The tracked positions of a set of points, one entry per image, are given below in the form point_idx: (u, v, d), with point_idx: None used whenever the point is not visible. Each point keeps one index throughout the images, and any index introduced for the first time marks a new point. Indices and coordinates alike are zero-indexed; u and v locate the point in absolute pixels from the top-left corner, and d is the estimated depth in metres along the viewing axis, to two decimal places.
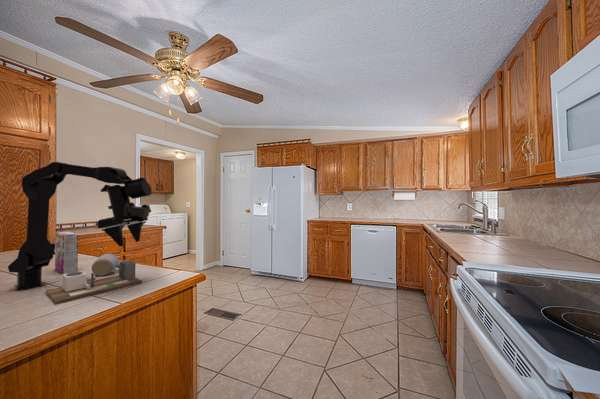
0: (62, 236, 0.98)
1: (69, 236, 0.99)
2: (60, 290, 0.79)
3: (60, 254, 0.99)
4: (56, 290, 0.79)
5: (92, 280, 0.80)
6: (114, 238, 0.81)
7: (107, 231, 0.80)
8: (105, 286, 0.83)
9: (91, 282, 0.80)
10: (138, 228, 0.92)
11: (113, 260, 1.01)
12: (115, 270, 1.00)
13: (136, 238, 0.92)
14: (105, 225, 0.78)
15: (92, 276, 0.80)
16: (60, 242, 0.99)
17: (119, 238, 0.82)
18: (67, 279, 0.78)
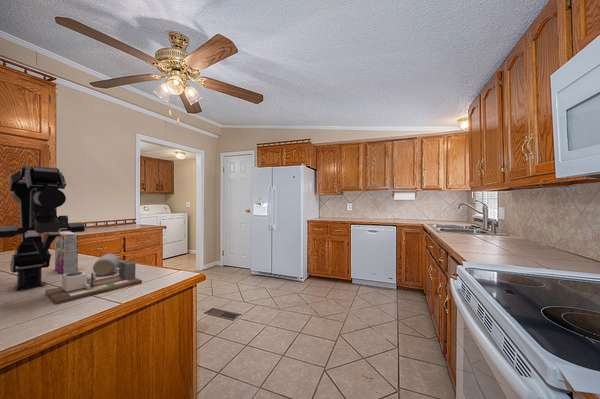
0: (62, 236, 0.98)
1: (69, 236, 0.99)
2: (60, 290, 0.79)
3: (60, 254, 0.99)
4: (56, 290, 0.79)
5: (92, 280, 0.80)
6: (36, 247, 0.74)
7: (31, 238, 0.74)
8: (105, 286, 0.83)
9: (91, 282, 0.80)
10: (46, 241, 0.75)
11: (114, 260, 1.01)
12: (116, 270, 1.00)
13: None
14: None
15: (92, 276, 0.80)
16: (60, 242, 0.99)
17: (37, 249, 0.74)
18: (67, 279, 0.78)
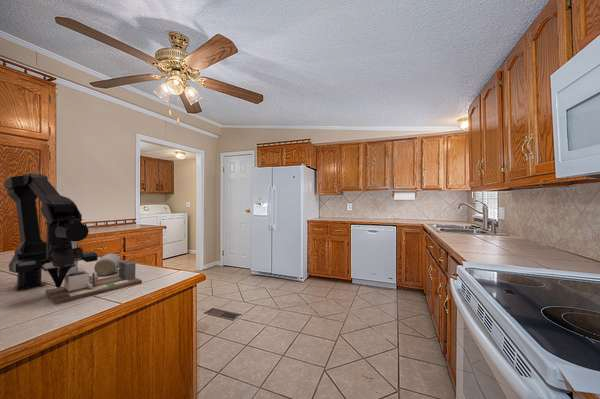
0: None
1: None
2: (60, 290, 0.79)
3: None
4: (56, 290, 0.79)
5: (93, 280, 0.80)
6: (52, 278, 0.77)
7: None
8: (105, 286, 0.83)
9: (92, 282, 0.80)
10: (61, 272, 0.78)
11: (115, 260, 1.01)
12: (118, 270, 1.00)
13: None
14: (14, 269, 0.70)
15: (93, 276, 0.80)
16: None
17: (53, 280, 0.77)
18: (70, 279, 0.78)
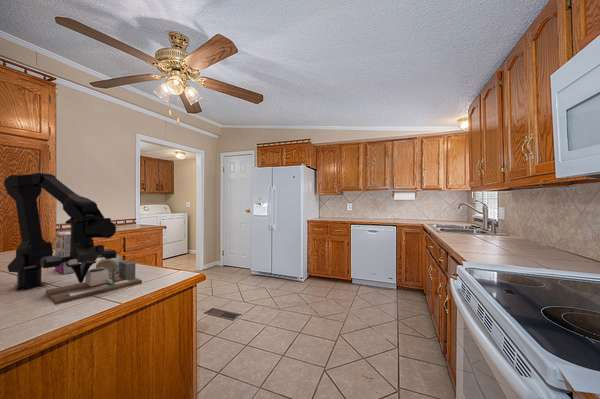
0: (62, 236, 0.98)
1: (69, 236, 0.99)
2: (60, 290, 0.79)
3: (60, 254, 0.99)
4: (56, 290, 0.79)
5: (113, 276, 0.85)
6: (75, 273, 0.82)
7: None
8: (105, 286, 0.83)
9: (112, 278, 0.85)
10: (83, 268, 0.82)
11: (117, 260, 1.01)
12: None
13: None
14: (41, 265, 0.75)
15: (113, 272, 0.85)
16: (60, 242, 0.99)
17: (76, 275, 0.81)
18: (91, 274, 0.83)
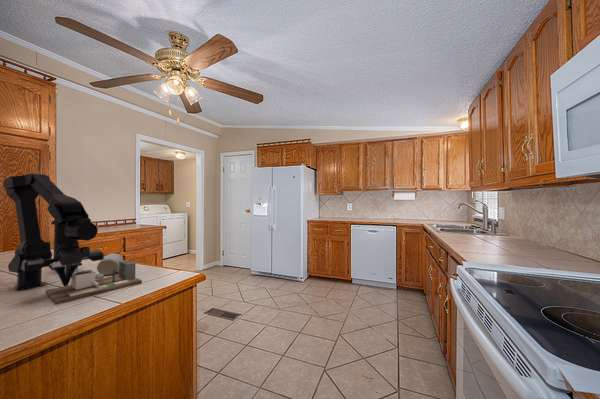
0: None
1: None
2: (60, 290, 0.79)
3: None
4: (56, 290, 0.79)
5: (113, 276, 0.85)
6: (59, 276, 0.79)
7: None
8: (105, 286, 0.83)
9: (113, 277, 0.85)
10: (68, 271, 0.79)
11: (118, 260, 1.01)
12: None
13: None
14: (22, 268, 0.72)
15: (113, 272, 0.85)
16: None
17: (61, 278, 0.78)
18: (77, 277, 0.80)
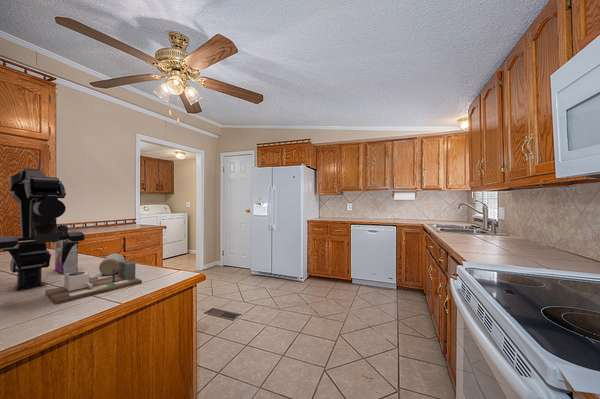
0: None
1: None
2: (60, 290, 0.79)
3: (60, 254, 0.99)
4: (56, 290, 0.79)
5: (113, 276, 0.85)
6: (14, 259, 0.71)
7: None
8: (105, 286, 0.83)
9: (113, 277, 0.85)
10: (65, 249, 0.78)
11: (120, 260, 1.02)
12: None
13: (62, 260, 0.79)
14: None
15: (113, 272, 0.85)
16: (60, 242, 0.99)
17: (15, 261, 0.70)
18: (70, 278, 0.78)
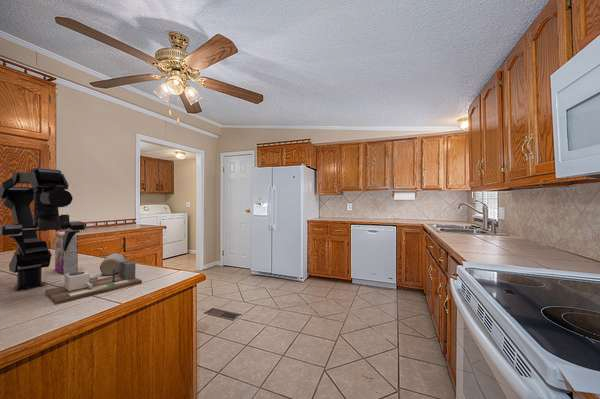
0: (62, 236, 0.98)
1: None
2: (60, 290, 0.79)
3: (60, 254, 0.99)
4: (56, 290, 0.79)
5: (113, 276, 0.85)
6: None
7: None
8: (105, 286, 0.83)
9: (113, 277, 0.85)
10: (66, 237, 0.83)
11: (120, 259, 1.02)
12: None
13: (63, 248, 0.83)
14: (1, 232, 0.72)
15: (113, 272, 0.85)
16: (60, 242, 0.99)
17: (20, 248, 0.75)
18: (70, 278, 0.78)
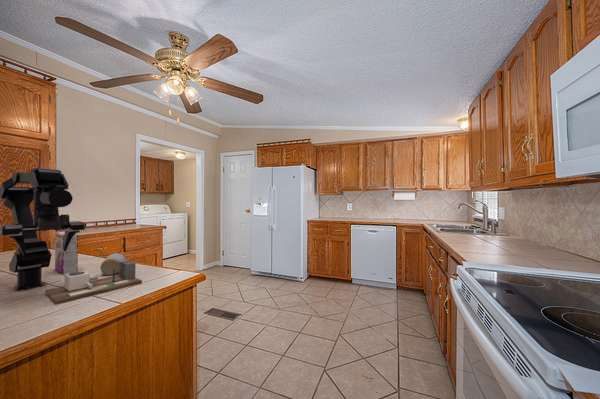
0: (62, 236, 0.98)
1: None
2: (60, 290, 0.79)
3: (60, 254, 0.99)
4: (56, 290, 0.79)
5: (113, 276, 0.85)
6: None
7: (14, 237, 0.75)
8: (105, 286, 0.83)
9: (113, 277, 0.85)
10: (66, 237, 0.83)
11: (121, 259, 1.02)
12: None
13: (63, 248, 0.83)
14: (1, 232, 0.72)
15: (113, 272, 0.85)
16: (60, 242, 0.99)
17: (20, 248, 0.75)
18: (70, 278, 0.78)
